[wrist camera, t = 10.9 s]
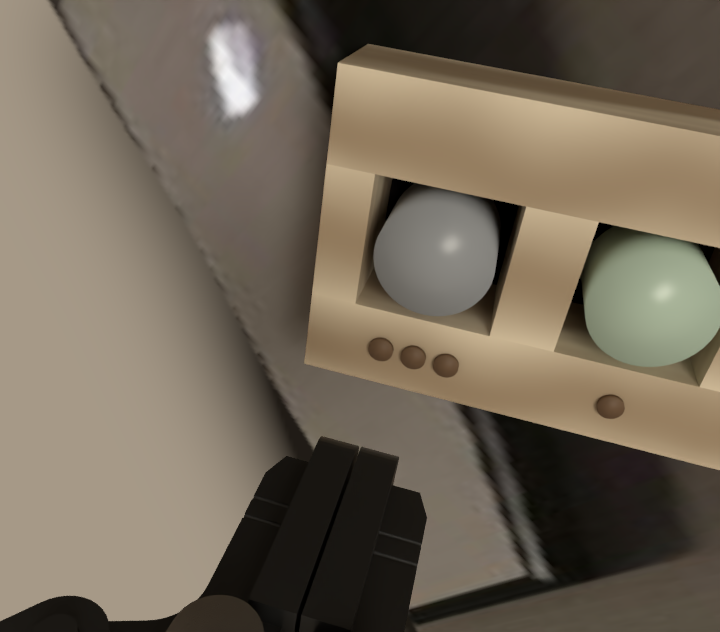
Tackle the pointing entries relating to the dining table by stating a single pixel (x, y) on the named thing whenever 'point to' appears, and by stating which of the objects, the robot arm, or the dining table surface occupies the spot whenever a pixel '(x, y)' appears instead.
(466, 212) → the slate button
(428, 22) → the dining table surface
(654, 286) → the sage button
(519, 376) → the button panel
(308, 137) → the dining table surface
